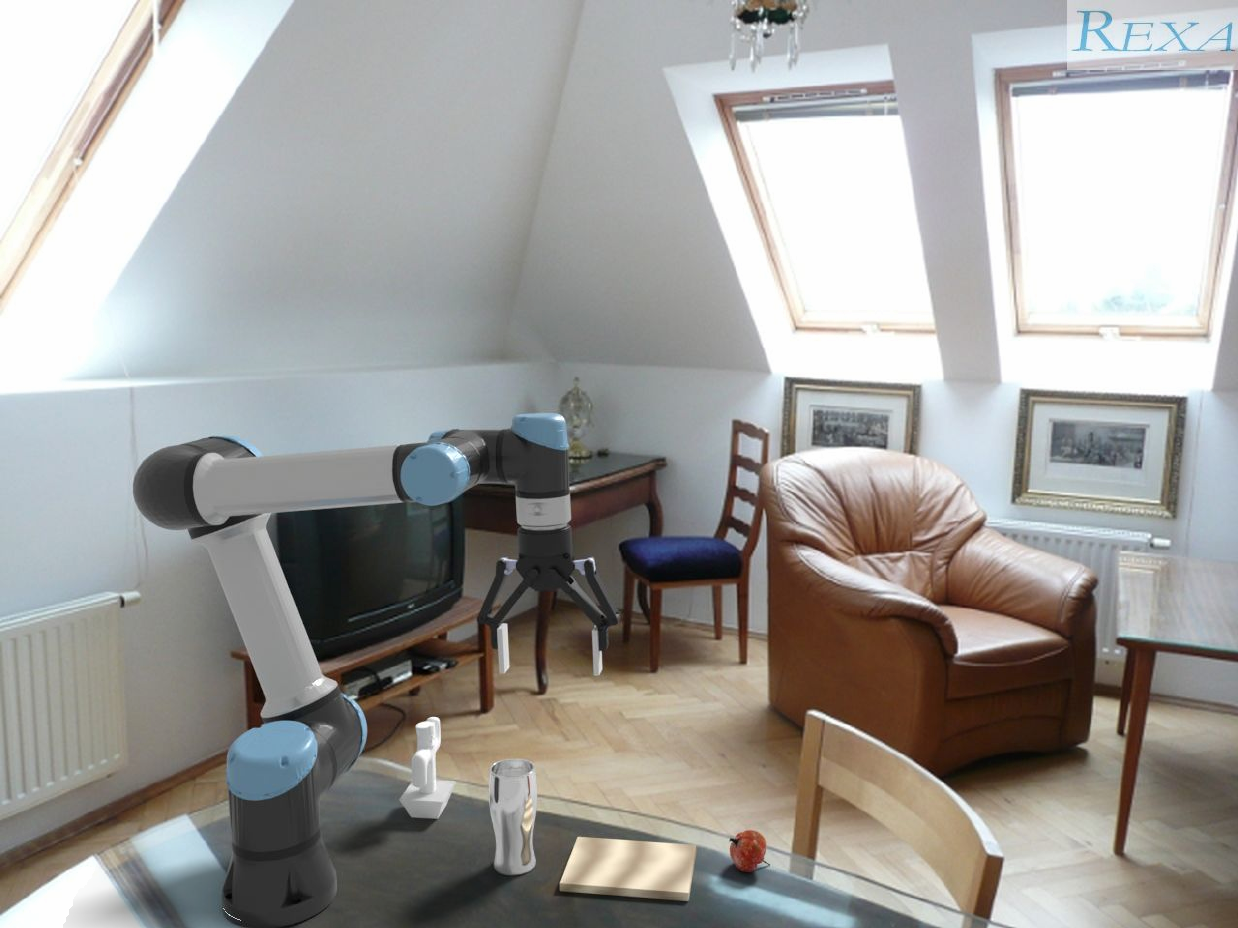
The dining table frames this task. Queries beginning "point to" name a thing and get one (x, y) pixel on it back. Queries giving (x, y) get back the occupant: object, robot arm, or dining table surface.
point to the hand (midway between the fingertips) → (550, 671)
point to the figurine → (426, 775)
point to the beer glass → (513, 814)
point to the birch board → (630, 868)
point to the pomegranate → (748, 850)
